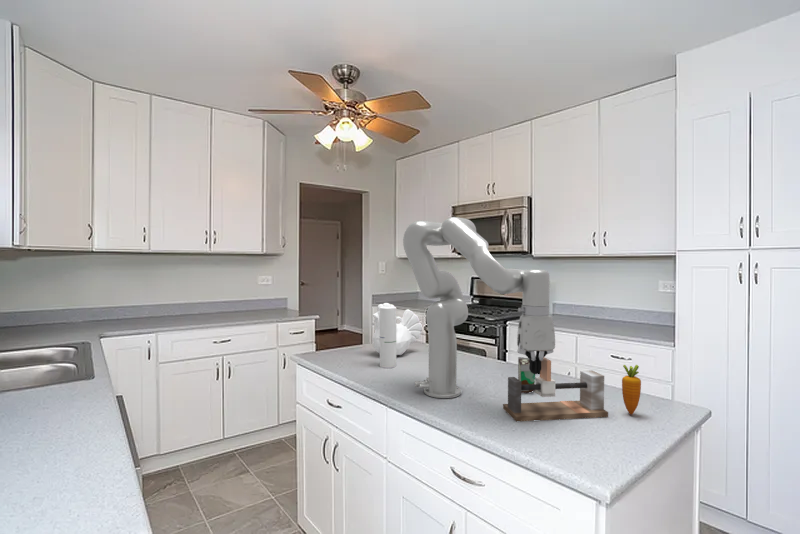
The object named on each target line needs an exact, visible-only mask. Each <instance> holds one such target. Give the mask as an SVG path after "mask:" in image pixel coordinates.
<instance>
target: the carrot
mask: <svg viewBox="0 0 800 534" xmlns="http://www.w3.org/2000/svg"><path fill="white" fill-rule="evenodd" d="M622 366H623V368H624V370H625V372H626V374H627V375H625V376H623V377H622V379H621V391H622V393H621V394H622V399H623V403H624V405H625V408H626V410H627V412H628V414H629V415H631V416H632V415H633V414H634V413H635V412H636V410H637V408H638V405H639V402H640V398H641V390H642V380H641V379H640V378H639V377H637V376H636V375H638V374H639V371H638V369H639V368H640V366H639V365H638V364H635V366H634V367H633V366H632V365H630V366H629V368H628V367H627V365H626V364H623V365H622Z"/></svg>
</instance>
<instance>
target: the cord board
mask: <svg viewBox="0 0 800 534" xmlns="http://www.w3.org/2000/svg"><path fill="white" fill-rule="evenodd" d="M579 375H580V376H579V379H580V381H579V382H564V383H563V382H561V383H558V382H557V383H556V382H555V390H563V389H564V390H566V389H567V390H569V389H579V400H561V401H560V400H559V401H544V402H543V401H542V402H537V401H536V402H522V393H521V390H534V391H535V390H541V384H529V385H521V381H520V380H518V377H515V376H507V403H503V404H502V410H503V411H505V413H507V414H508V415H509V416H510V417H511V418H512V419H513V420H514V421H515V422H516V423H518V422H517V421H520V422H535V421H534V420H540V421H557V420H558V421H559V419H560V420H576V419H577V420H578V419H594V418H595V419H597V418H598V417H600V418H609V411H607V410H606V409H605V375H603V374H602V373H599V372H596V371H594V370H580V373H579ZM598 419H599V418H598Z"/></svg>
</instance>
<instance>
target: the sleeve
mask: <svg viewBox="0 0 800 534" xmlns="http://www.w3.org/2000/svg"><path fill="white" fill-rule="evenodd" d="M555 383H556V380H555V379H553V378H552V360H551V359H548V358H546V356H545V357H544V358H543V360H542V361H541V371H540V374H539V376H535V384H541V390H534V393H535V394H538V396H540V397H541V398H553V397H554V398H555V397H556V389H555Z"/></svg>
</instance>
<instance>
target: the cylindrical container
mask: <svg viewBox="0 0 800 534" xmlns="http://www.w3.org/2000/svg"><path fill="white" fill-rule="evenodd" d="M397 313H398V312H397V307H396V306H395V307H380V354H379V368H382V369H393V368H396V367H397V355H396V327H397V324H398V323H397V320H398V319H397V317H398V315H397Z"/></svg>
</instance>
